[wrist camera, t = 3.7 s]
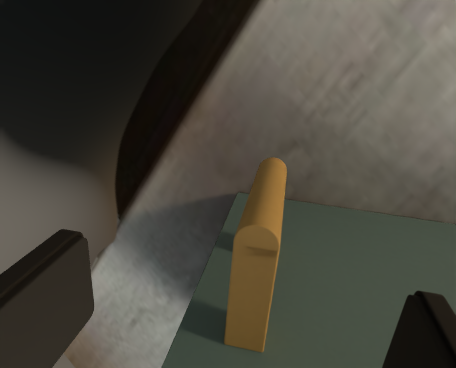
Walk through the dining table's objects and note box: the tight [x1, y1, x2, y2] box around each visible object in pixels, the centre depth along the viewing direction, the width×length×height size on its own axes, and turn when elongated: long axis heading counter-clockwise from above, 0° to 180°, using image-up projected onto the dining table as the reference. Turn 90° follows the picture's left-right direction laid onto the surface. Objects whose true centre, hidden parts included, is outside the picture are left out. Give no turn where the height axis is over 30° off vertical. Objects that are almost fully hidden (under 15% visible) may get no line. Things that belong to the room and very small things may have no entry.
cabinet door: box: [162, 157, 456, 368], centre depth 20 cm, size 8×26×24 cm, turn 85°
